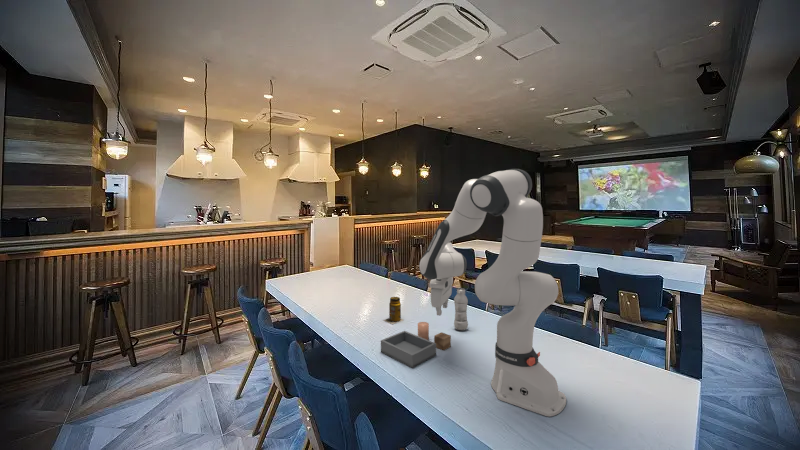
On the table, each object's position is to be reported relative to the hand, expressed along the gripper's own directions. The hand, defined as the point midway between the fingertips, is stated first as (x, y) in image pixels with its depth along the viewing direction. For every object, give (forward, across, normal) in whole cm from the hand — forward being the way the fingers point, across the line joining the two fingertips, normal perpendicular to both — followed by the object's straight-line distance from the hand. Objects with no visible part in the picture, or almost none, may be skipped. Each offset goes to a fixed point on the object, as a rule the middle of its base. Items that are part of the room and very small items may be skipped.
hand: (442, 311), depth 131 cm
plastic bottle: (+16, -21, +4) cm, 27 cm away
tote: (+15, +12, -11) cm, 22 cm away
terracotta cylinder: (+16, -4, -10) cm, 19 cm away
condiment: (+16, -19, -32) cm, 40 cm away
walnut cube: (+16, 0, 0) cm, 16 cm away
